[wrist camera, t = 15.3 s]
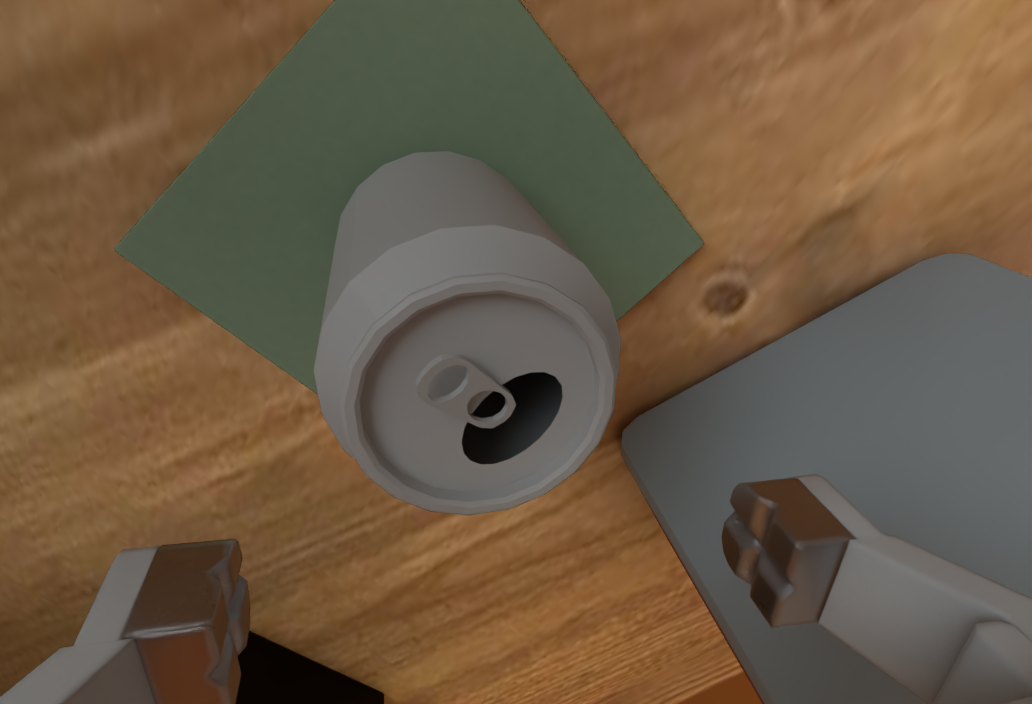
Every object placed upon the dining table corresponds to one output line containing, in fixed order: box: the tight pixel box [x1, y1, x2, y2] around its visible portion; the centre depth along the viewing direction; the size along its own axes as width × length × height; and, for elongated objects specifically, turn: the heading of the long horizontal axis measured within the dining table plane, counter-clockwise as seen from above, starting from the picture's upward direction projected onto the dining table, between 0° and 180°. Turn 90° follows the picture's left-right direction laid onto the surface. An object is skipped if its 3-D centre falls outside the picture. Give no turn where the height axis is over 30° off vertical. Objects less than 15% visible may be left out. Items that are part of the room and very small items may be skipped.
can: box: [314, 151, 621, 515], centre depth 19 cm, size 8×8×12 cm
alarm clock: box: [621, 253, 1032, 704], centre depth 23 cm, size 18×9×21 cm, turn 118°
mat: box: [114, 0, 704, 394], centre depth 24 cm, size 16×16×1 cm
